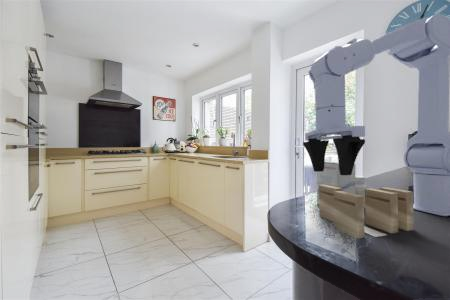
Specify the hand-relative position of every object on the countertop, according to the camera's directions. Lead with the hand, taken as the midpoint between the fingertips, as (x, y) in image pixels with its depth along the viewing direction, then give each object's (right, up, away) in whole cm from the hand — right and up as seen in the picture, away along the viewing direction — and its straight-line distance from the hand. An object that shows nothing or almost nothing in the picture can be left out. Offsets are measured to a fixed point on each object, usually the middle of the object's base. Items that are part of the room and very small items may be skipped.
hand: (331, 173), depth 44 cm
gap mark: (+3, -10, -6) cm, 12 cm away
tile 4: (0, -10, -7) cm, 12 cm away
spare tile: (0, -10, +1) cm, 10 cm away
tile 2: (+7, -10, -5) cm, 13 cm away
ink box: (+6, -10, +9) cm, 15 cm away
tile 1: (+11, -10, -4) cm, 15 cm away
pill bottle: (+12, -10, +11) cm, 19 cm away
